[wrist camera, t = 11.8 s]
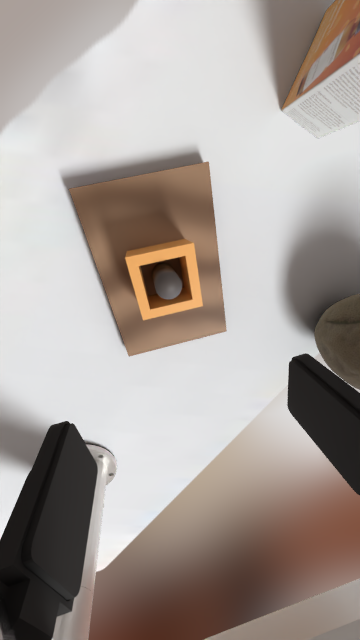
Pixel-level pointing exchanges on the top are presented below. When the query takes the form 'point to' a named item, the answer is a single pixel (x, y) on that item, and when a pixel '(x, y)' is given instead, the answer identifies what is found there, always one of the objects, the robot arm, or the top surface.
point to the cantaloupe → (341, 339)
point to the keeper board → (147, 230)
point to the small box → (329, 74)
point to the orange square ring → (191, 291)
